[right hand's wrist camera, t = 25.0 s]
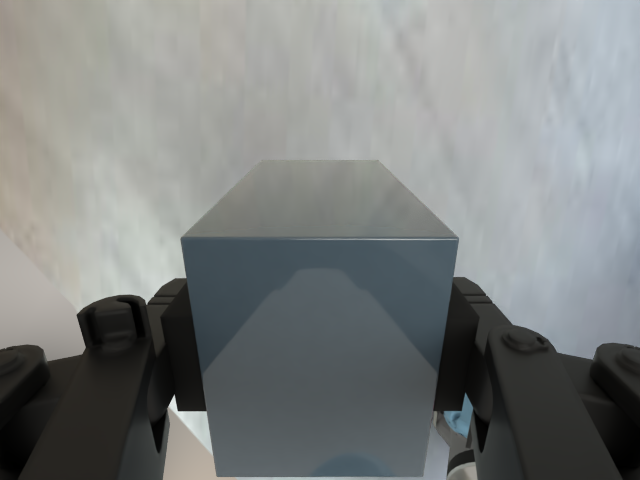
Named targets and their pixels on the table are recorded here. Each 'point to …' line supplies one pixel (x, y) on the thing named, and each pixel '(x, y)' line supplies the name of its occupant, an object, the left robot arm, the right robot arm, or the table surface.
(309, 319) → the block
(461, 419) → the left robot arm
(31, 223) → the table surface
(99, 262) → the table surface
